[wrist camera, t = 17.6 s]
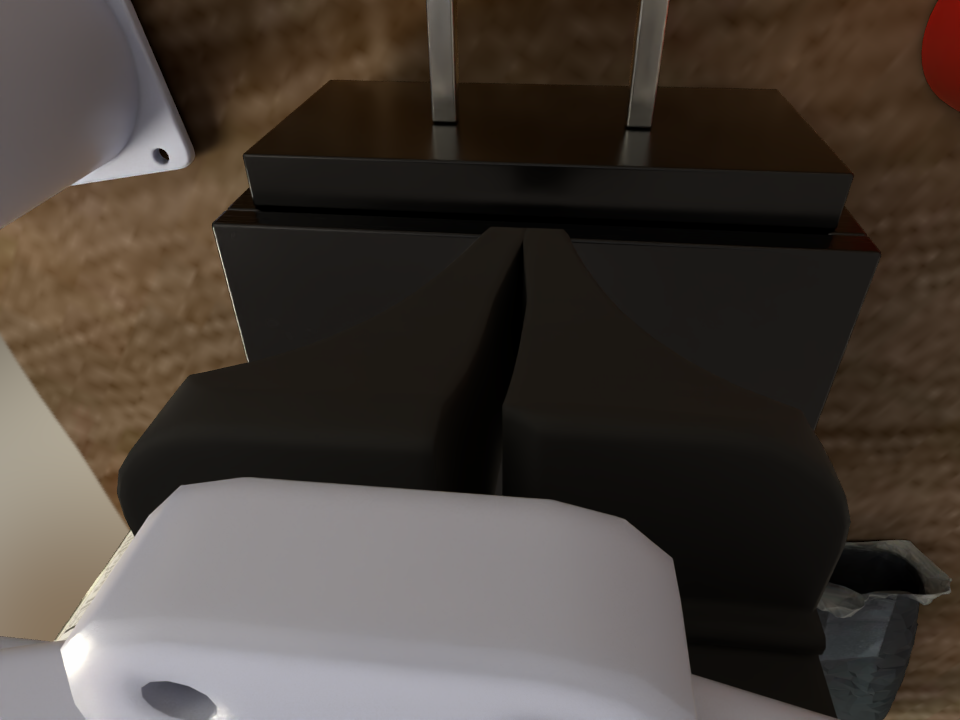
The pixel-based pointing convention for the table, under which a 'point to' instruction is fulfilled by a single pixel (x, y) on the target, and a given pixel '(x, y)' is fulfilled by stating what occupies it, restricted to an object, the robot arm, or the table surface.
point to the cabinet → (608, 257)
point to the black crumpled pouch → (873, 622)
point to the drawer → (552, 149)
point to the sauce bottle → (943, 52)
